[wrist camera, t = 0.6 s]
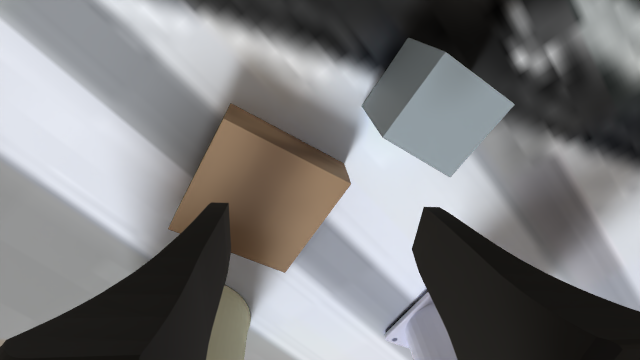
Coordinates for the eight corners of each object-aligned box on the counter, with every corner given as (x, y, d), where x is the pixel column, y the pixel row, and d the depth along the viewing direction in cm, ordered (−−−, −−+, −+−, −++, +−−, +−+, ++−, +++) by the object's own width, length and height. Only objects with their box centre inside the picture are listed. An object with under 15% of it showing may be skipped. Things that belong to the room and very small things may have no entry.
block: (464, 79, 20) (514, 104, 16) (417, 140, 22) (450, 177, 17) (408, 37, 19) (445, 51, 14) (361, 105, 20) (382, 137, 16)
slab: (343, 161, 22) (351, 183, 20) (284, 243, 25) (285, 272, 23) (231, 101, 20) (223, 118, 17) (181, 201, 23) (168, 229, 20)
